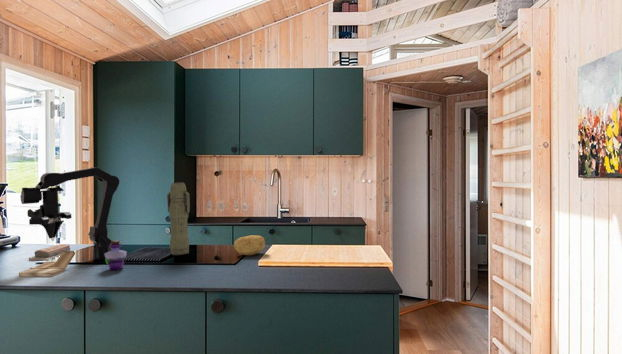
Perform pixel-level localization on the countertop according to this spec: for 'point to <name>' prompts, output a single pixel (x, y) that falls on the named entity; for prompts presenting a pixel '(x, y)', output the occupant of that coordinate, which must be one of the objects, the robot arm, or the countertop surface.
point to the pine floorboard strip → (41, 272)
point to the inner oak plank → (64, 259)
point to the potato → (249, 244)
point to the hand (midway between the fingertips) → (52, 237)
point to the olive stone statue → (178, 218)
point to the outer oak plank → (45, 265)
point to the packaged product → (50, 252)
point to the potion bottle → (115, 256)
